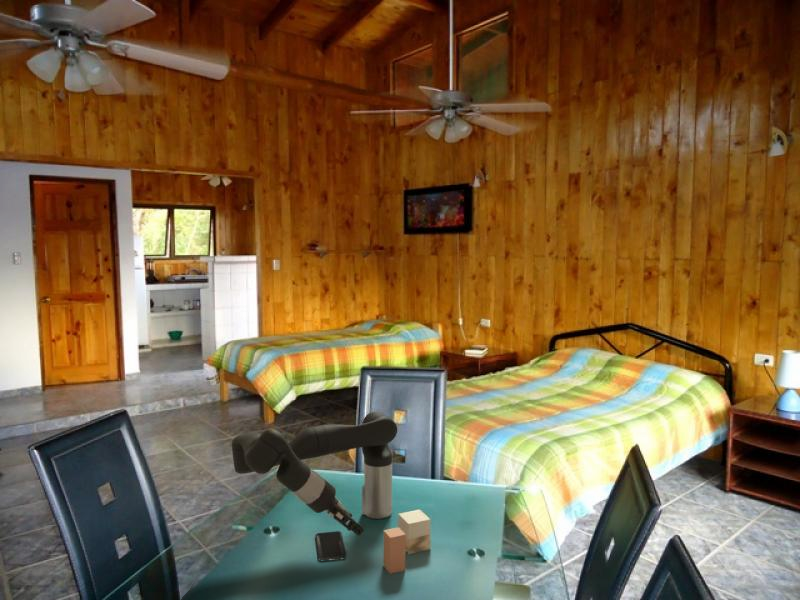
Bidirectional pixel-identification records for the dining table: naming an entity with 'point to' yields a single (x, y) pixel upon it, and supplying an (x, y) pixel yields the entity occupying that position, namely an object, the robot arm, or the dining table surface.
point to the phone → (330, 545)
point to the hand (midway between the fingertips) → (355, 525)
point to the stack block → (394, 550)
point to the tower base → (418, 544)
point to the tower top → (414, 523)
